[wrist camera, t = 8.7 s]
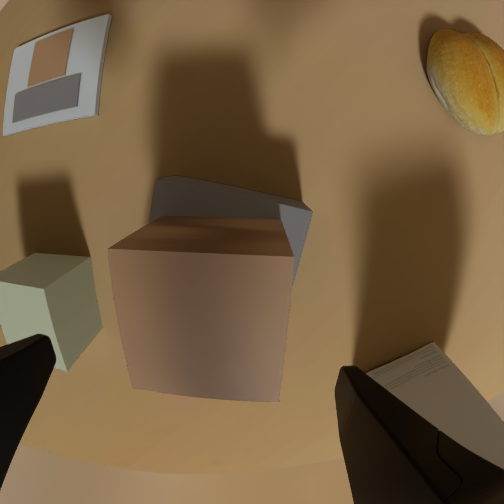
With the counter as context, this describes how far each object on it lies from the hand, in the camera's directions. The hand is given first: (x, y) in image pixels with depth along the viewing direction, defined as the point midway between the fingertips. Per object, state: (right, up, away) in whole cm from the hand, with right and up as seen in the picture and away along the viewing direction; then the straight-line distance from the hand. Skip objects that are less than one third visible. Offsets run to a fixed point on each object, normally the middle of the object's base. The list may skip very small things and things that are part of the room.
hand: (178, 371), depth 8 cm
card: (-13, +17, +8) cm, 22 cm away
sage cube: (-13, 0, +13) cm, 18 cm away
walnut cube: (0, +2, +8) cm, 8 cm away
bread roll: (+18, +16, +7) cm, 26 cm away
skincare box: (+15, -8, +15) cm, 22 cm away
